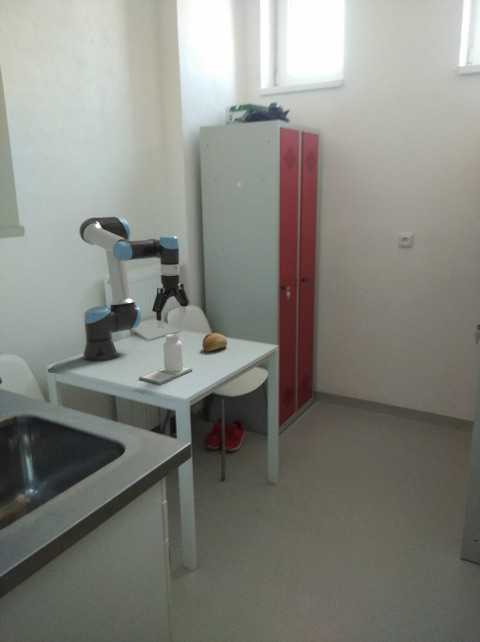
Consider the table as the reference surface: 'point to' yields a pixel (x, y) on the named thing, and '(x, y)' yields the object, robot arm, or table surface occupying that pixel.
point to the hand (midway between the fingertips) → (171, 324)
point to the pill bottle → (173, 353)
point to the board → (163, 375)
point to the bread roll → (214, 342)
